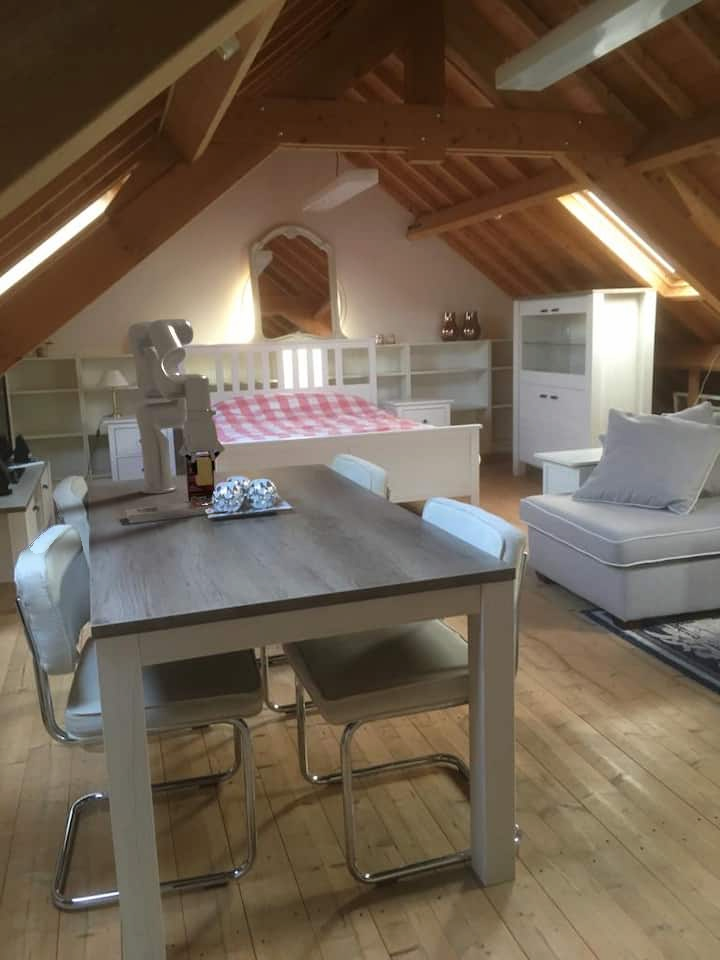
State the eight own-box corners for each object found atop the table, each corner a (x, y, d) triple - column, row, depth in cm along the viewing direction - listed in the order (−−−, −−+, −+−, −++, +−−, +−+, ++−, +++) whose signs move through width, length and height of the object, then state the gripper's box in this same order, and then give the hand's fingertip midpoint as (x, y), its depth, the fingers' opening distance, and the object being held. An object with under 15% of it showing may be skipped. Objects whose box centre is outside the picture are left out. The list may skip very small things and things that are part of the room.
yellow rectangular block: (196, 483, 256) (194, 458, 254) (209, 481, 257) (208, 457, 256) (198, 485, 252) (196, 460, 250) (212, 484, 253) (211, 458, 252)
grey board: (126, 517, 252) (125, 509, 251) (221, 506, 263) (221, 498, 262) (130, 523, 243) (129, 514, 243) (228, 511, 254) (227, 503, 254)
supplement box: (190, 504, 268) (186, 456, 265) (188, 501, 272) (184, 454, 269) (216, 501, 270) (212, 454, 267) (214, 498, 275) (210, 452, 272)
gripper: (223, 412, 257) (227, 469, 260) (169, 416, 251) (174, 474, 254) (228, 414, 250) (232, 472, 254) (173, 418, 244) (178, 478, 247)
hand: (203, 473), depth 254 cm, fingers closed on yellow rectangular block, 4 cm apart
